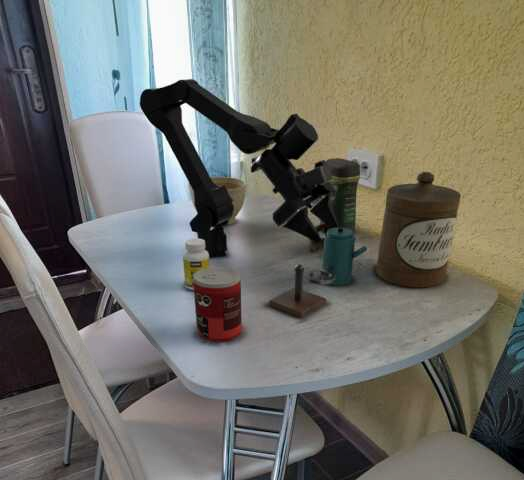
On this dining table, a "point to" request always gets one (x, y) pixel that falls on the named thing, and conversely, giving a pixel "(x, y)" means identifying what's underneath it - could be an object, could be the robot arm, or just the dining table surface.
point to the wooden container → (417, 233)
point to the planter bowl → (234, 189)
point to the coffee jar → (344, 191)
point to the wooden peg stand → (297, 298)
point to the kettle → (337, 258)
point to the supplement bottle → (194, 260)
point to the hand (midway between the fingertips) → (328, 234)
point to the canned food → (218, 303)
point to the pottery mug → (320, 245)
